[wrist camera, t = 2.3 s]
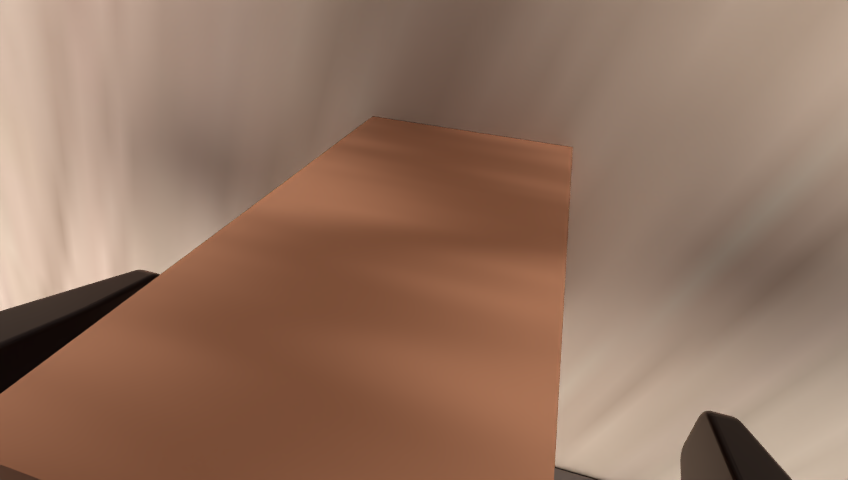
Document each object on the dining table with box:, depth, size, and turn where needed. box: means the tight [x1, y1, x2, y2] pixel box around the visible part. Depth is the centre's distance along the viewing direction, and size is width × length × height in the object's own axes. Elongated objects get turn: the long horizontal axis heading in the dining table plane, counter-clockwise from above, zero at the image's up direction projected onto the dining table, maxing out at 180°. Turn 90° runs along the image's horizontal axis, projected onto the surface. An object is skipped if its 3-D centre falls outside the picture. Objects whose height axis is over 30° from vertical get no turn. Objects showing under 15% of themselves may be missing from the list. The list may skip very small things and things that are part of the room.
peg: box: [0, 116, 573, 480], centre depth 8 cm, size 4×4×9 cm
